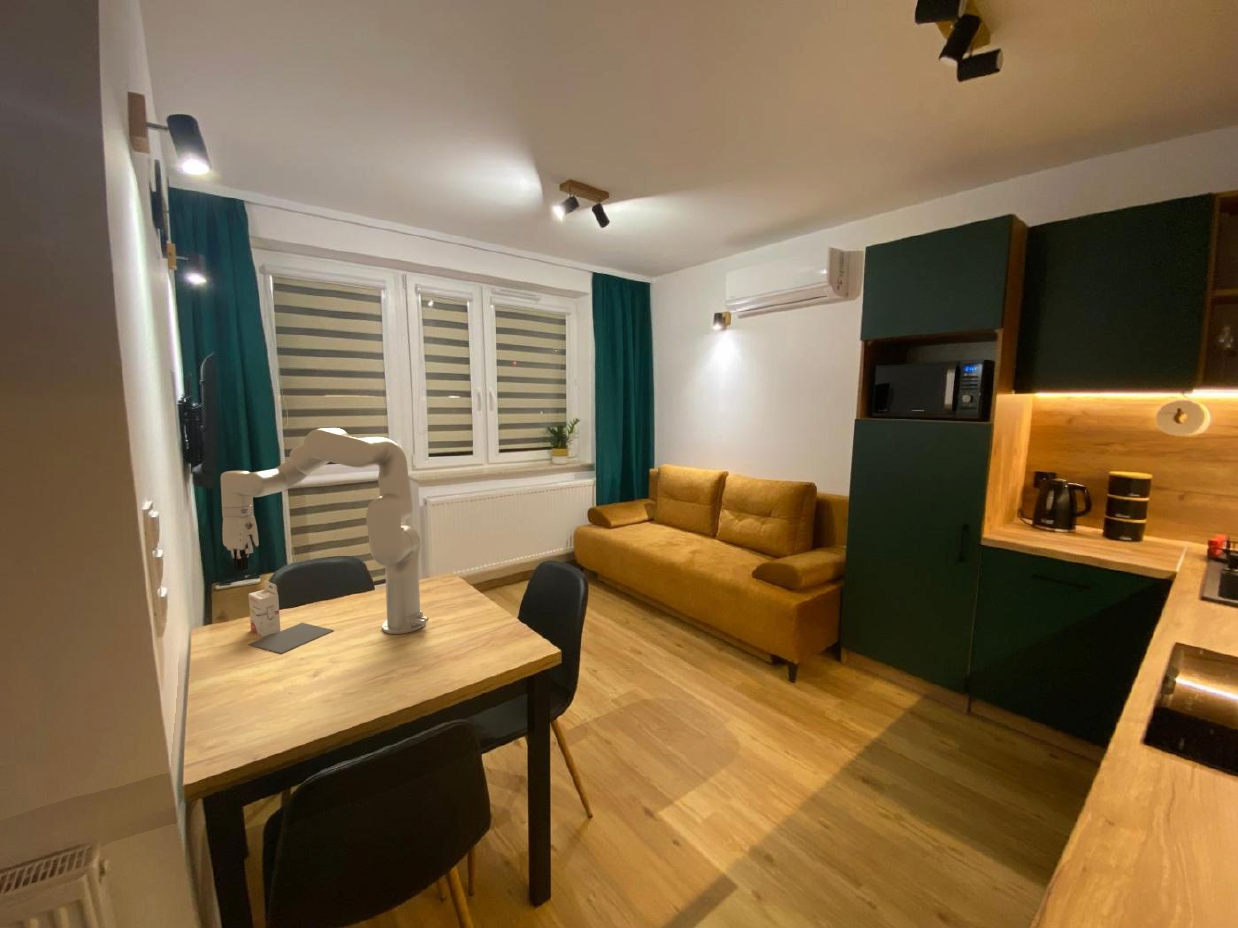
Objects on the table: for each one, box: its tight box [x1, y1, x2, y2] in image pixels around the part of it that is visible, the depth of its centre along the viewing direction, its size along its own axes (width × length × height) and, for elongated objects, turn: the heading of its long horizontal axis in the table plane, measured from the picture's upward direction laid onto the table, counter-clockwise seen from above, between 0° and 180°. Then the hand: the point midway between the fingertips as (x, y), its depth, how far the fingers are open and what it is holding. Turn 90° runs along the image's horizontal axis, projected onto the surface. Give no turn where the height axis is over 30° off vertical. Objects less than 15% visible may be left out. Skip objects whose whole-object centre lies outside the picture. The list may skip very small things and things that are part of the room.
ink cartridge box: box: [248, 579, 281, 638], centre depth 151 cm, size 9×5×15 cm, turn 58°
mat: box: [247, 622, 335, 655], centre depth 147 cm, size 14×16×1 cm
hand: (240, 570), depth 153 cm, fingers closed
